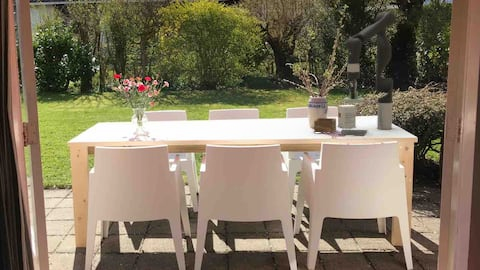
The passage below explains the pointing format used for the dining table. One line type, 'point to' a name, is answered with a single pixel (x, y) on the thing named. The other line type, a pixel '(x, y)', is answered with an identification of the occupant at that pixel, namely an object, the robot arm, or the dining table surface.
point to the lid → (356, 100)
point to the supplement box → (347, 116)
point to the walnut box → (325, 125)
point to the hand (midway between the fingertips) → (353, 98)
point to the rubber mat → (353, 132)
